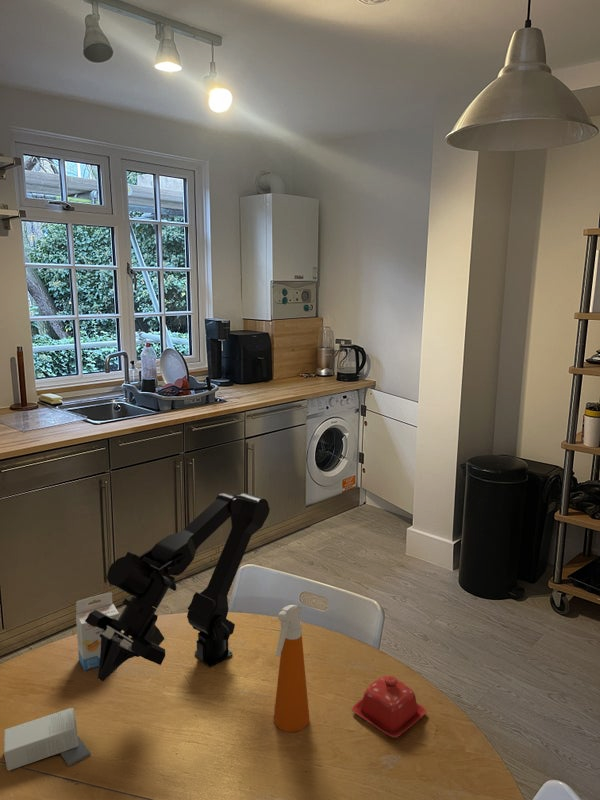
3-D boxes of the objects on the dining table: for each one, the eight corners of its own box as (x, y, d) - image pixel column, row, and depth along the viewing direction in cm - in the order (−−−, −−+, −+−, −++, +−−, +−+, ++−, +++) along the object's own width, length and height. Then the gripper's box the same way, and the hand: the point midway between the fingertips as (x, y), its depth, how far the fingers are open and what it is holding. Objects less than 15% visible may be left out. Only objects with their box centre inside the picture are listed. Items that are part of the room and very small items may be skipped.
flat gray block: (74, 733, 114) (74, 731, 114) (90, 754, 109) (90, 752, 109) (53, 744, 112) (53, 742, 112) (68, 766, 107) (68, 764, 107)
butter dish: (383, 687, 128) (385, 652, 127) (429, 716, 120) (431, 678, 119) (348, 714, 120) (349, 677, 119) (394, 746, 112) (396, 707, 111)
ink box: (84, 672, 132) (79, 611, 129) (78, 660, 136) (74, 601, 133) (122, 659, 136) (119, 600, 133) (115, 647, 141) (112, 590, 137)
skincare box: (77, 724, 116) (8, 748, 111) (73, 705, 114) (3, 728, 110) (79, 747, 110) (7, 773, 106) (75, 727, 109) (2, 753, 104)
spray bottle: (259, 740, 113) (259, 614, 108) (282, 703, 123) (282, 586, 118) (294, 751, 111) (295, 623, 105) (314, 712, 120) (316, 593, 115)
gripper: (198, 631, 119) (157, 710, 113) (140, 599, 131) (99, 670, 125) (165, 614, 112) (119, 698, 106) (106, 582, 123) (61, 656, 117)
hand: (100, 680), depth 113 cm, fingers closed
